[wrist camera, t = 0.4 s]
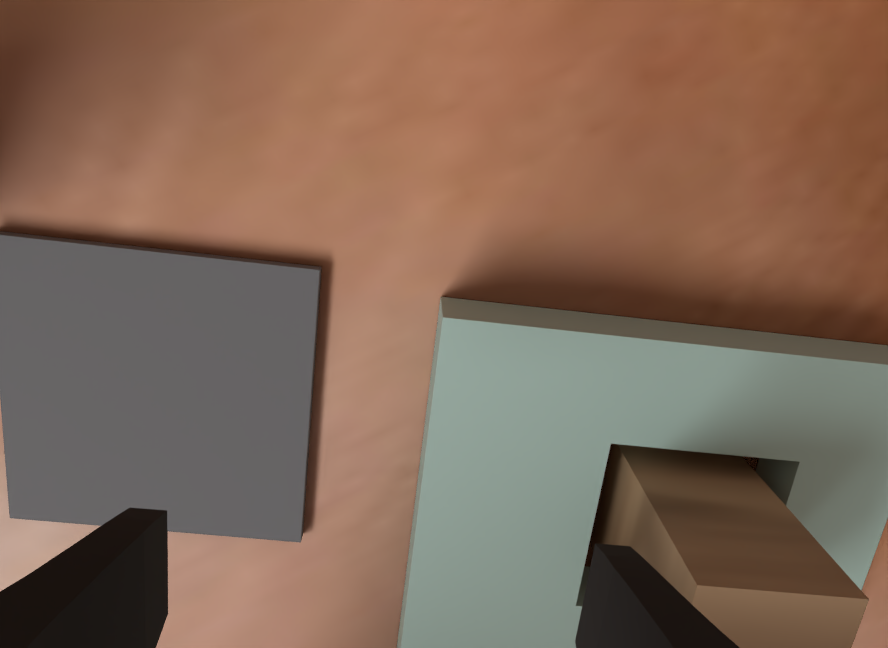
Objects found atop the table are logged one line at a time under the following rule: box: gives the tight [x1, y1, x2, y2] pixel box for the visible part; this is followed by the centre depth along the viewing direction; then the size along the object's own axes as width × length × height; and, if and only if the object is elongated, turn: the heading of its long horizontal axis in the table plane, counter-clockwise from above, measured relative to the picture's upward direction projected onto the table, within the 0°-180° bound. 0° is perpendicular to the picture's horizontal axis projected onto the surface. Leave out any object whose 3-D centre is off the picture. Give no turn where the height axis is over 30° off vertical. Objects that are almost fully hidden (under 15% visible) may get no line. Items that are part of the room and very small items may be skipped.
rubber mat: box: [0, 231, 321, 542], centre depth 21 cm, size 9×9×1 cm
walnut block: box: [591, 444, 869, 648], centre depth 20 cm, size 4×4×7 cm
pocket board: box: [397, 297, 888, 648], centre depth 22 cm, size 16×14×2 cm
